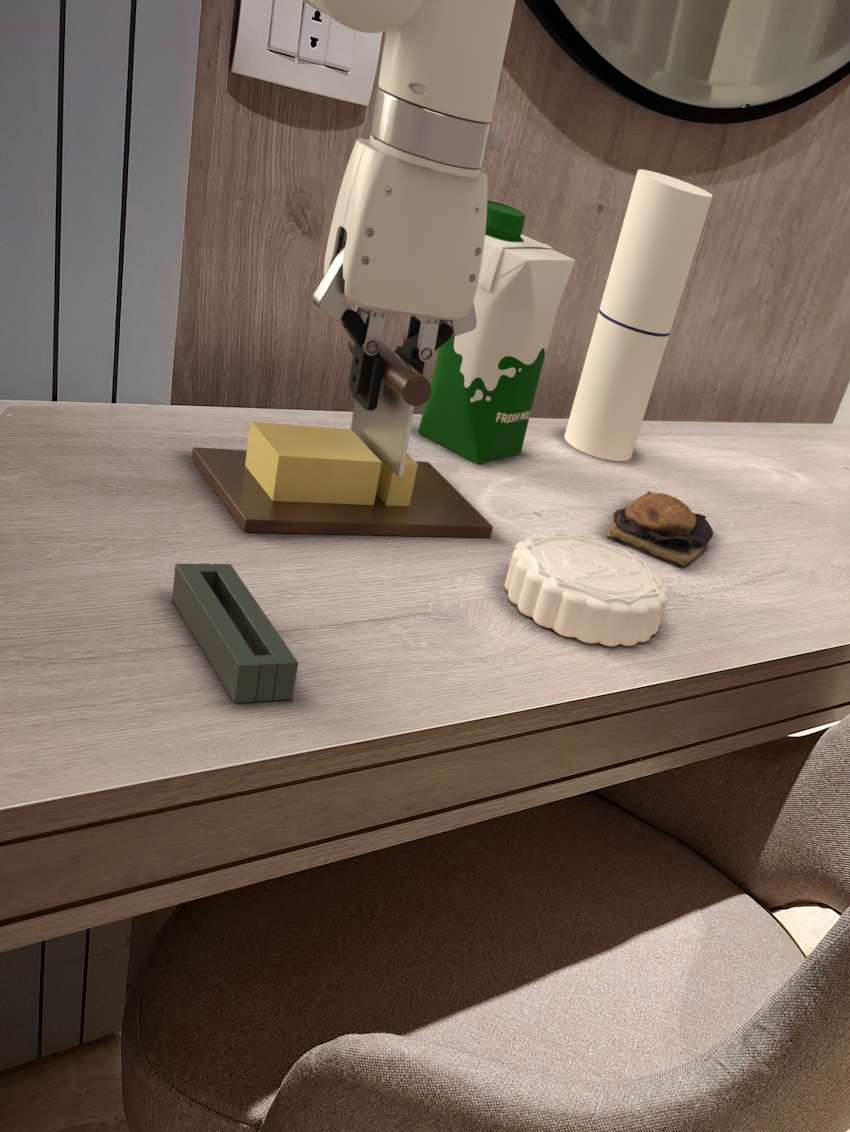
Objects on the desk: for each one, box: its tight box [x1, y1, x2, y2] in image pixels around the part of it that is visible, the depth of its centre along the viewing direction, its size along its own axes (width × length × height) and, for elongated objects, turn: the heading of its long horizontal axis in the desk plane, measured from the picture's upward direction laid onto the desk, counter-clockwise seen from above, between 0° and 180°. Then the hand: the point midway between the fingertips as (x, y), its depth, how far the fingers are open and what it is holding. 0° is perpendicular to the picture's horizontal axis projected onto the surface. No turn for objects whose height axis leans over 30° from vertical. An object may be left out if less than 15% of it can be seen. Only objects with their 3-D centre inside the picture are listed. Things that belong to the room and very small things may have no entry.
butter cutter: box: [347, 336, 431, 477], centre depth 89 cm, size 2×10×8 cm, turn 33°
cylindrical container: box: [563, 169, 713, 462], centre depth 114 cm, size 7×7×25 cm
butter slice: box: [361, 440, 418, 506], centre depth 92 cm, size 2×6×4 cm, turn 33°
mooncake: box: [504, 531, 669, 647], centre depth 88 cm, size 12×12×4 cm
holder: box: [171, 562, 299, 704], centre depth 70 cm, size 3×12×2 cm, turn 33°
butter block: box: [245, 421, 382, 505], centre depth 89 cm, size 8×6×4 cm
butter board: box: [191, 446, 494, 538], centre depth 92 cm, size 20×12×1 cm, turn 123°
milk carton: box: [417, 199, 576, 465], centre depth 105 cm, size 9×9×20 cm
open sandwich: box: [606, 490, 714, 567], centre depth 105 cm, size 11×8×4 cm
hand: (381, 403), depth 89 cm, fingers closed on butter cutter, 2 cm apart
